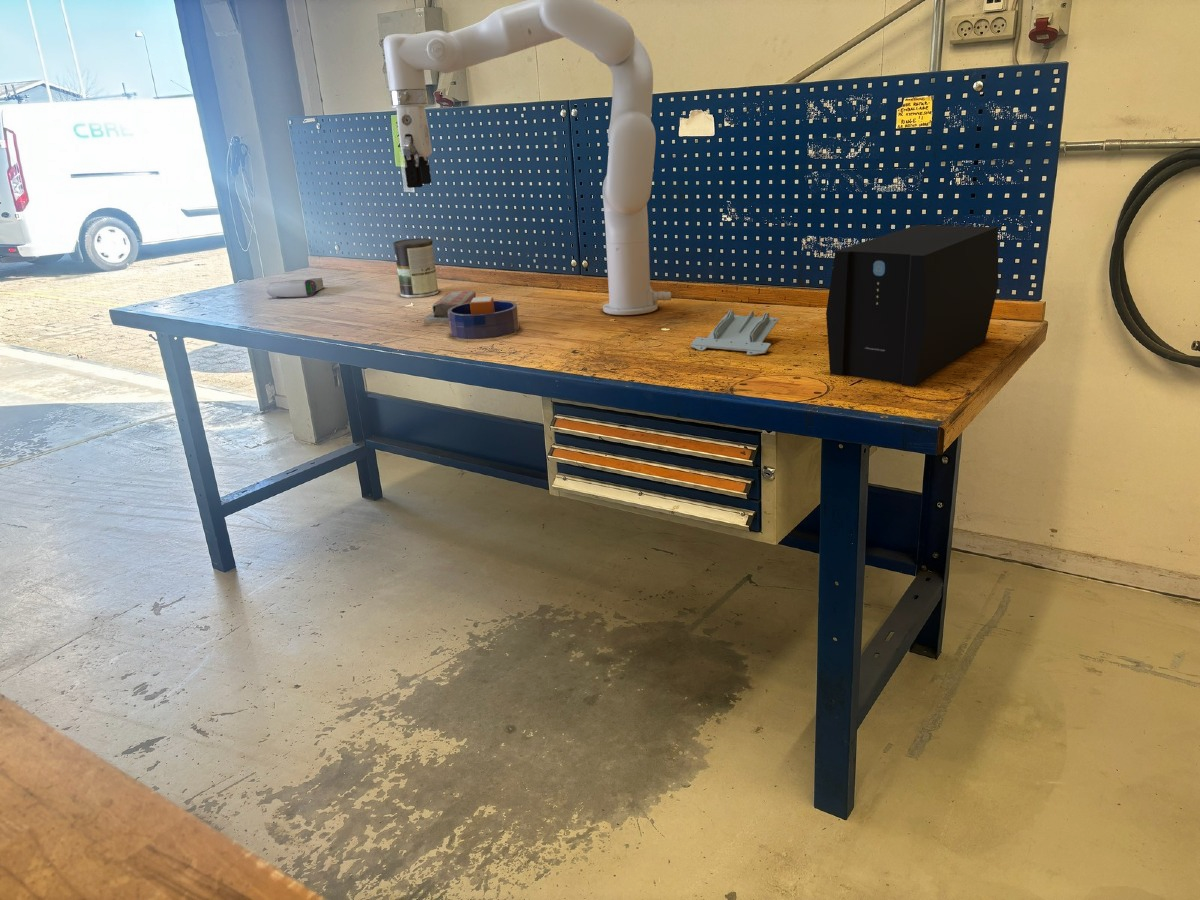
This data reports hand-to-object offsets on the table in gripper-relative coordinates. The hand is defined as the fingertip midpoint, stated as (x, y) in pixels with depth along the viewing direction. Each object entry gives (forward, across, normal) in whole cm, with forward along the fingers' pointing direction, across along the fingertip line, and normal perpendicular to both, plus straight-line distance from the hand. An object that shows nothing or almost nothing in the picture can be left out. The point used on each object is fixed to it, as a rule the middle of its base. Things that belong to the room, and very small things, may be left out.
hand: (419, 185), depth 184 cm
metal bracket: (+30, -34, -64) cm, 78 cm away
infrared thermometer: (+31, +50, +49) cm, 76 cm away
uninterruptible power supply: (+30, -48, -92) cm, 108 cm away
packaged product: (+30, +6, -3) cm, 31 cm away
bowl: (+30, -13, -13) cm, 35 cm away
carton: (+30, -13, -13) cm, 35 cm away
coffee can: (+30, +38, +11) cm, 50 cm away
